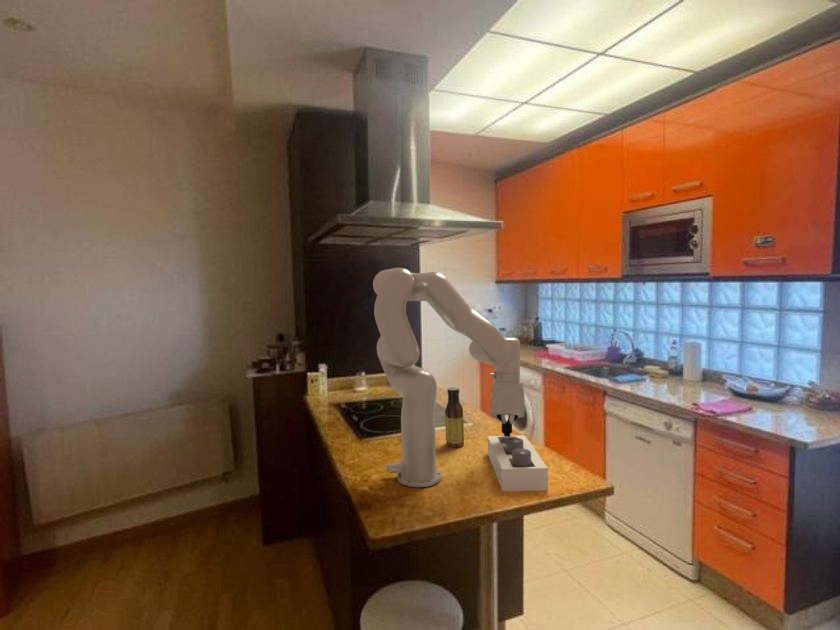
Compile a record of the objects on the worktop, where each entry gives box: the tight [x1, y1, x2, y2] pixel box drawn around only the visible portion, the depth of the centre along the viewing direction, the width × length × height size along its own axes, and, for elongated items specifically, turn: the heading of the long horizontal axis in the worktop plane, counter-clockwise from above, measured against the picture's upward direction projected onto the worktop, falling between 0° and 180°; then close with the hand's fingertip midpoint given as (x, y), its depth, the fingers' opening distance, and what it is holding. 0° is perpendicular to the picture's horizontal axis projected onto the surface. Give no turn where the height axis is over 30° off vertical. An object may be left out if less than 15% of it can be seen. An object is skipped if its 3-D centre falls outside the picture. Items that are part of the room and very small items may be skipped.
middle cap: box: [506, 438, 523, 455], centre depth 127 cm, size 5×5×6 cm
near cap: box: [512, 448, 531, 467], centre depth 118 cm, size 5×5×6 cm
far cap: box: [501, 435, 516, 444], centre depth 136 cm, size 5×5×6 cm
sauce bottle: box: [444, 387, 465, 448], centre depth 149 cm, size 7×6×20 cm
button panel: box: [487, 434, 549, 492], centre depth 127 cm, size 12×26×6 cm, turn 179°
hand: (506, 435), depth 136 cm, fingers closed
